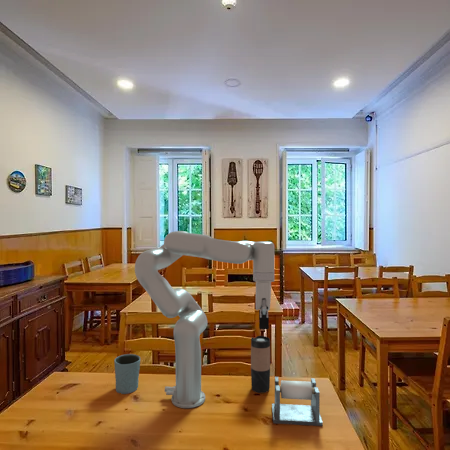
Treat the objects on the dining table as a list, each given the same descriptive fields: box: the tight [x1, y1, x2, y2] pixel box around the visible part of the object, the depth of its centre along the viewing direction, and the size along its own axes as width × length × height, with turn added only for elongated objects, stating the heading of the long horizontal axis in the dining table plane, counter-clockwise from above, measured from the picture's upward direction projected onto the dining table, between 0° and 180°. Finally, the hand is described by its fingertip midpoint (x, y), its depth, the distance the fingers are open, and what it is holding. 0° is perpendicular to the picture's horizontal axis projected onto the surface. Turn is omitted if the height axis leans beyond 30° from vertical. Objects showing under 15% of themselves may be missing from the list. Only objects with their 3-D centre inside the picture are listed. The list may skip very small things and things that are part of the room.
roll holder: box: [271, 376, 323, 427], centre depth 116 cm, size 16×10×11 cm, turn 84°
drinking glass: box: [113, 353, 141, 395], centre depth 135 cm, size 10×10×12 cm
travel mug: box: [250, 335, 271, 394], centre depth 135 cm, size 8×8×20 cm
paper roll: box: [279, 379, 314, 401], centre depth 116 cm, size 13×6×6 cm, turn 84°
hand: (263, 324), depth 120 cm, fingers open, 9 cm apart
